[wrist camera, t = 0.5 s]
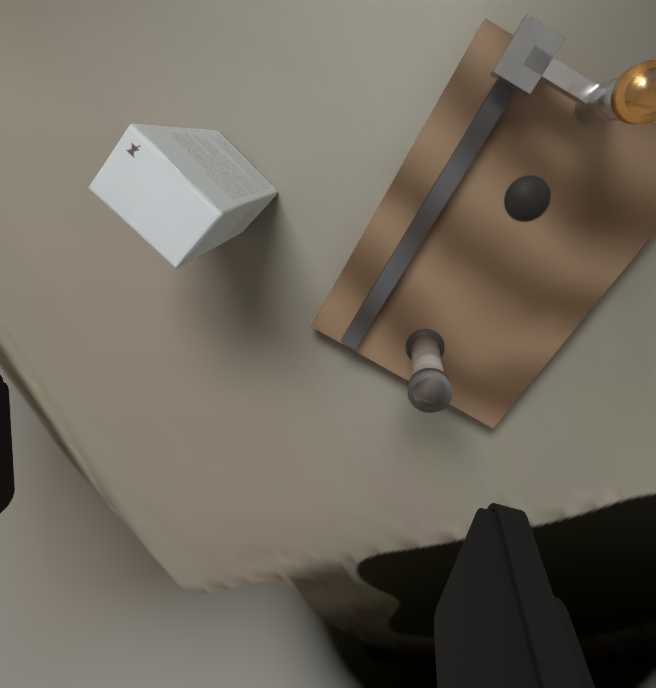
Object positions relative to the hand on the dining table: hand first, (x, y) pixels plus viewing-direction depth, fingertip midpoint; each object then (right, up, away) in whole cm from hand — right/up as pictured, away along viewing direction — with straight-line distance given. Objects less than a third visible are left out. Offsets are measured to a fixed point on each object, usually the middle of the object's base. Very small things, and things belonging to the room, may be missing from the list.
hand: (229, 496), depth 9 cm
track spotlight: (+15, +18, +19) cm, 30 cm away
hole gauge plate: (+13, +10, +25) cm, 30 cm away
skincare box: (-5, +14, +26) cm, 30 cm away
